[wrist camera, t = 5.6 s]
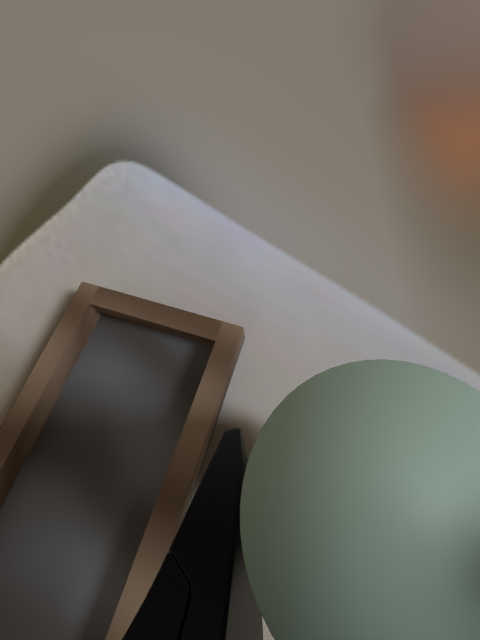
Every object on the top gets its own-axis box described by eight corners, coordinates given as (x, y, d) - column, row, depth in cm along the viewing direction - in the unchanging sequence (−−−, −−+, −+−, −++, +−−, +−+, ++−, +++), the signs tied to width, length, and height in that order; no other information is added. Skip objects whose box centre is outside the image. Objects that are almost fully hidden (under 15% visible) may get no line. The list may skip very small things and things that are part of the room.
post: (340, 538, 13) (598, 841, 3) (245, 502, 14) (193, 646, 4) (358, 437, 14) (582, 408, 4) (271, 409, 15) (286, 327, 5)
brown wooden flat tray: (91, 790, 13) (66, 839, 11) (-106, 671, 15) (-152, 699, 13) (244, 337, 20) (243, 327, 18) (96, 294, 22) (82, 281, 20)
